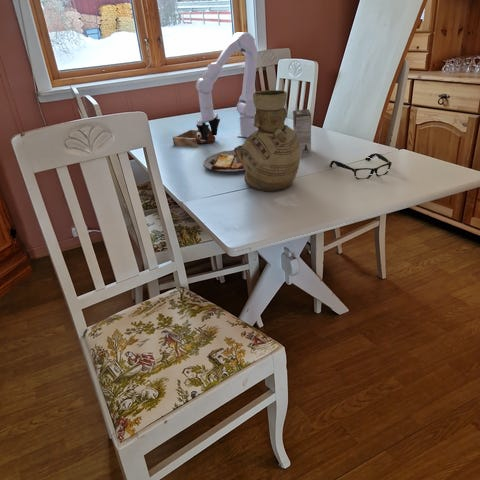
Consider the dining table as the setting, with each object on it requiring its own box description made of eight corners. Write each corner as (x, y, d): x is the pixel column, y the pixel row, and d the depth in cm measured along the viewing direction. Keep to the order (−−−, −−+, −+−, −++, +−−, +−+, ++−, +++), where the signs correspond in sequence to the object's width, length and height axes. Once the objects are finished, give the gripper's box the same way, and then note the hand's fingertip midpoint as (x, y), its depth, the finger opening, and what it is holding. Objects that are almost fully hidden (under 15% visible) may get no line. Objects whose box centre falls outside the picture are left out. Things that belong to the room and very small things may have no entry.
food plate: (259, 176, 149) (258, 166, 148) (197, 176, 154) (195, 167, 153) (269, 154, 171) (268, 146, 169) (214, 155, 176) (213, 147, 174)
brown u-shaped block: (213, 138, 200) (212, 130, 199) (196, 146, 189) (195, 139, 188) (191, 136, 206) (190, 129, 204) (173, 145, 195) (172, 137, 193)
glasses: (351, 185, 137) (352, 171, 134) (327, 167, 152) (327, 154, 149) (395, 177, 140) (397, 162, 138) (368, 160, 155) (369, 147, 152)
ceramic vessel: (234, 179, 148) (226, 90, 134) (293, 172, 149) (291, 83, 135) (240, 199, 131) (231, 101, 117) (306, 192, 132) (305, 93, 118)
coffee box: (293, 150, 172) (292, 110, 165) (308, 149, 172) (308, 109, 164) (295, 156, 164) (294, 115, 157) (311, 155, 164) (311, 114, 156)
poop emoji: (217, 139, 198) (215, 119, 193) (213, 144, 190) (211, 123, 186) (196, 140, 200) (194, 120, 195) (192, 145, 192) (189, 124, 188)
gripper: (207, 103, 193) (211, 132, 199) (189, 110, 182) (194, 141, 188) (220, 103, 190) (223, 133, 196) (203, 110, 179) (207, 142, 185)
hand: (210, 137), depth 192 cm, fingers open, 7 cm apart
